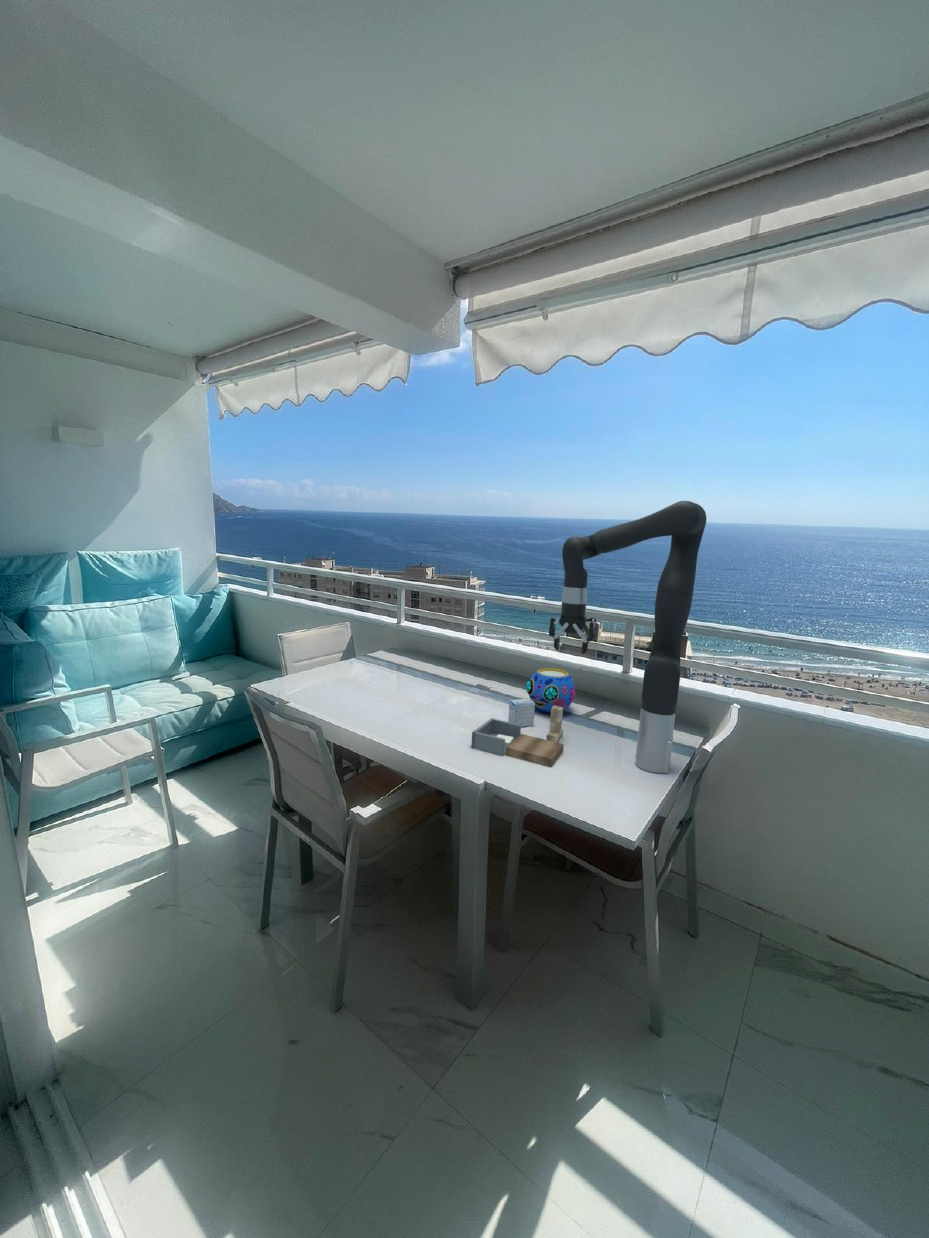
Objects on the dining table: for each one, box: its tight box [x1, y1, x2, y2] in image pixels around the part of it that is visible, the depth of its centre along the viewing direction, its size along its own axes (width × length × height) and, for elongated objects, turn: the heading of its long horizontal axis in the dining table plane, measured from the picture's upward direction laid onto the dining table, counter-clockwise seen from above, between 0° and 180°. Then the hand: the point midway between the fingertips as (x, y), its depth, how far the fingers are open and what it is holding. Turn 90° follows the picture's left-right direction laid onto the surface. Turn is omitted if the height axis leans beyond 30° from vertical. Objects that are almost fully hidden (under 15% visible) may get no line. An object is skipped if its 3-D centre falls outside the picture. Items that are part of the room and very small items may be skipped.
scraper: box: [546, 706, 564, 743], centre depth 155 cm, size 3×8×11 cm, turn 152°
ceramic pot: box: [525, 667, 576, 713], centre depth 182 cm, size 18×18×15 cm
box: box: [471, 717, 522, 757], centre depth 151 cm, size 10×14×5 cm
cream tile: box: [497, 734, 514, 749], centre depth 150 cm, size 5×5×2 cm
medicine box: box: [507, 698, 536, 728], centre depth 167 cm, size 8×4×9 cm, turn 111°
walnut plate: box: [505, 733, 565, 768], centre depth 145 cm, size 14×12×2 cm
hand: (570, 651), depth 154 cm, fingers open, 8 cm apart
